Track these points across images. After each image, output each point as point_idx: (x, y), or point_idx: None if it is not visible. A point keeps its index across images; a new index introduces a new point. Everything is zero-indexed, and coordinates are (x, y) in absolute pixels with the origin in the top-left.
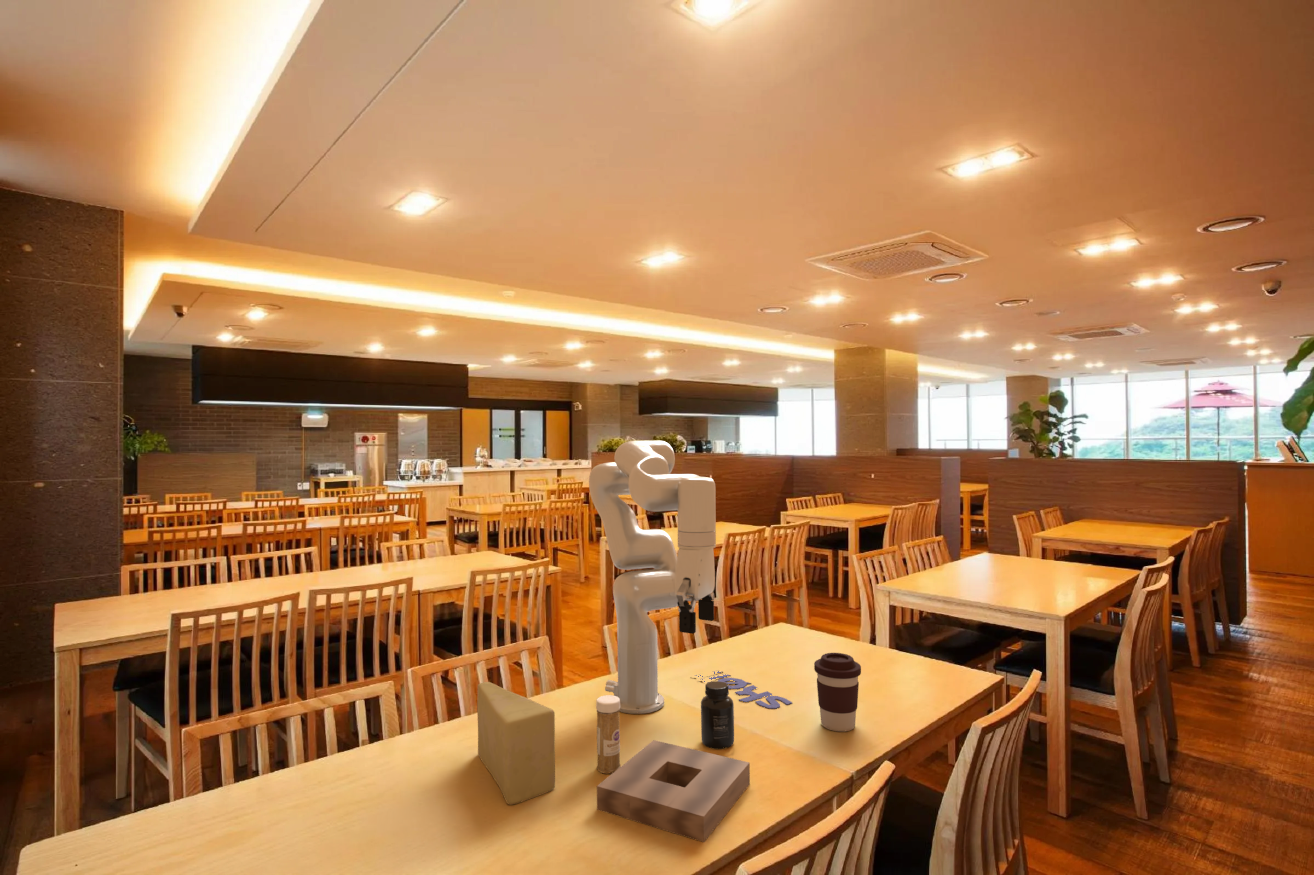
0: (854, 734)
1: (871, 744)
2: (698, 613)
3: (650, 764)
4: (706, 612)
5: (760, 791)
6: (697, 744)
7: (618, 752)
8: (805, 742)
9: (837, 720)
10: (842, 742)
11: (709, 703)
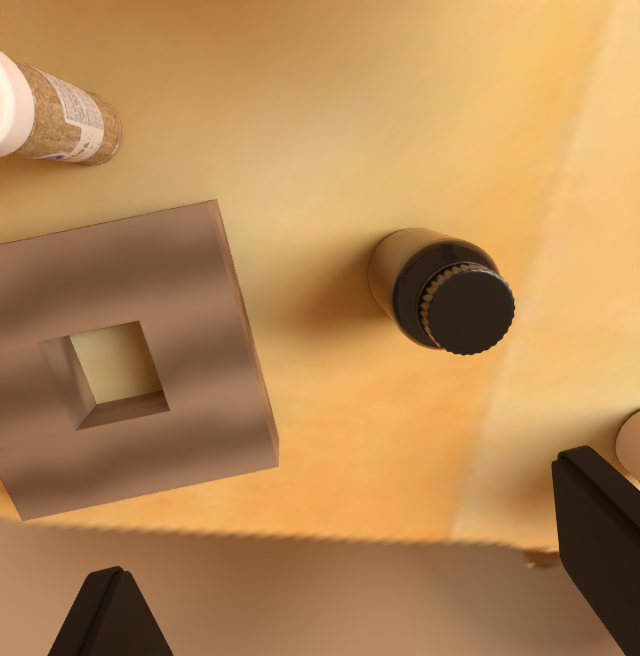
0: None
1: None
2: (593, 482)
3: (90, 297)
4: (606, 579)
5: None
6: (369, 234)
7: (80, 160)
8: (527, 426)
9: (632, 469)
10: None
11: (401, 303)
